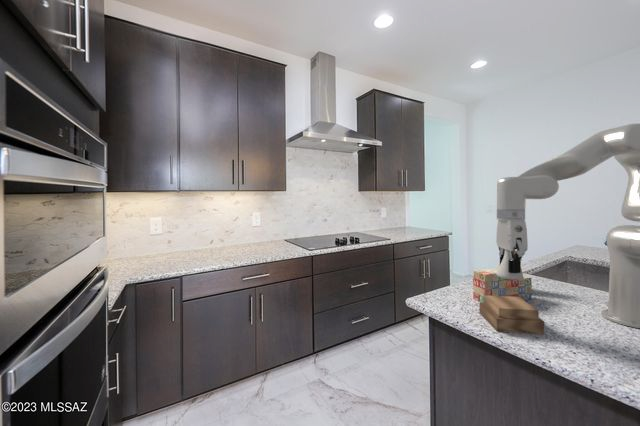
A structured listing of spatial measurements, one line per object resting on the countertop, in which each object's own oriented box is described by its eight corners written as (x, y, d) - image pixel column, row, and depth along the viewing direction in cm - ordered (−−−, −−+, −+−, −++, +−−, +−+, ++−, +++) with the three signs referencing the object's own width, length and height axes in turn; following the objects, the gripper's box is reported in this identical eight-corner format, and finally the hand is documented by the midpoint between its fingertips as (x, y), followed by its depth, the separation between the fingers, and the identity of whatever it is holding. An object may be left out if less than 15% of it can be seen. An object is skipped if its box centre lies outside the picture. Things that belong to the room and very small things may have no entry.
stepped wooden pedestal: (519, 315, 92) (520, 295, 91) (544, 334, 79) (544, 311, 78) (479, 313, 94) (479, 294, 94) (496, 331, 81) (496, 309, 81)
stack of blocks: (517, 294, 111) (518, 266, 110) (531, 300, 105) (532, 270, 104) (472, 299, 107) (473, 269, 107) (484, 305, 101) (485, 274, 101)
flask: (529, 280, 82) (529, 248, 81) (506, 280, 82) (506, 249, 82) (512, 273, 89) (513, 244, 89) (491, 274, 89) (491, 245, 89)
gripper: (540, 217, 75) (539, 278, 76) (509, 213, 92) (508, 264, 93) (511, 217, 77) (510, 277, 78) (486, 213, 94) (485, 263, 95)
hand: (509, 269), depth 85 cm, fingers closed on flask, 4 cm apart
